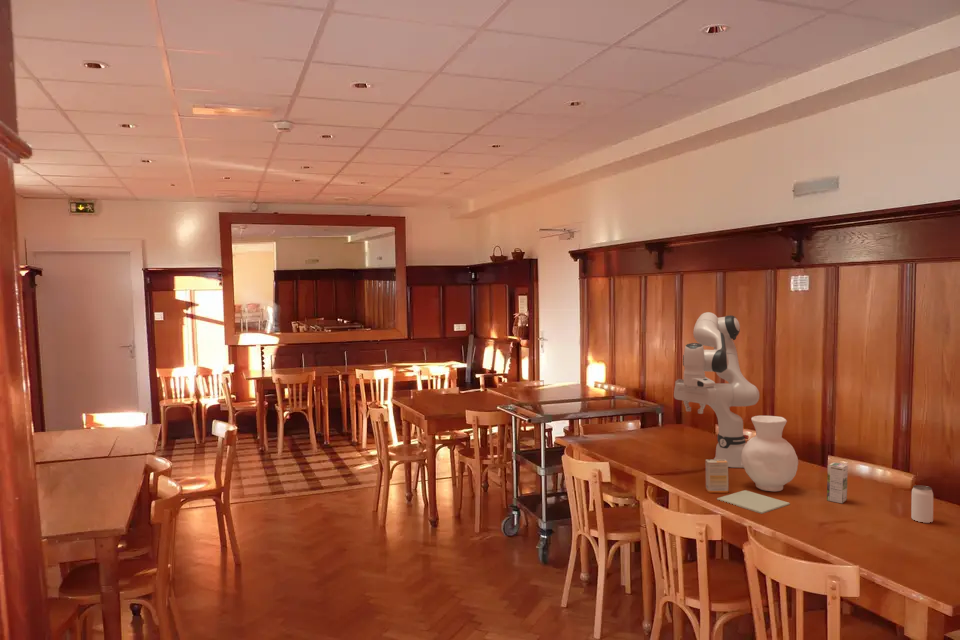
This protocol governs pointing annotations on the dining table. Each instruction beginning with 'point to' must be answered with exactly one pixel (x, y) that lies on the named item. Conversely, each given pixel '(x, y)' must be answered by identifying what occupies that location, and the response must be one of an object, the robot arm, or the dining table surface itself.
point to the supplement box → (716, 475)
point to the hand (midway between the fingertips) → (694, 412)
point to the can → (922, 504)
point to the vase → (769, 454)
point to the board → (753, 501)
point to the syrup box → (837, 482)
